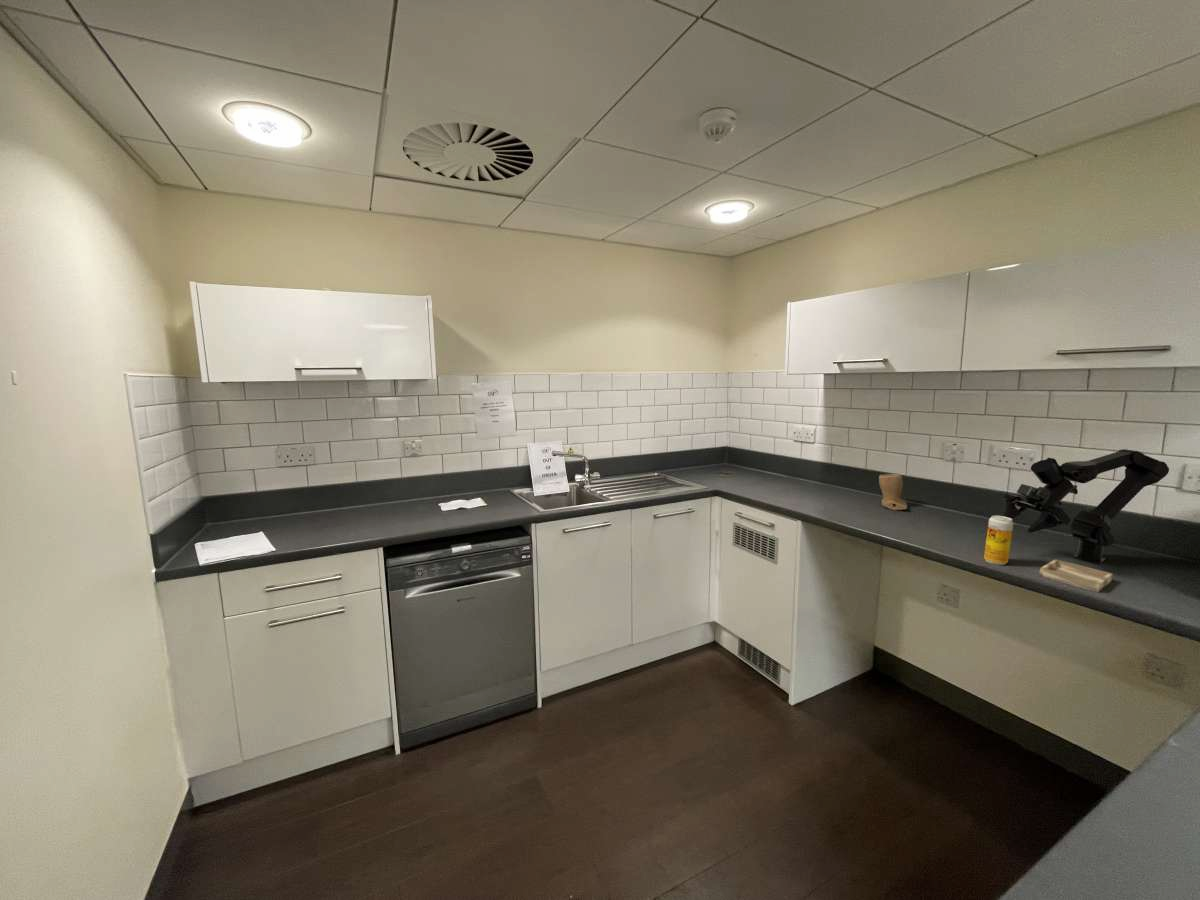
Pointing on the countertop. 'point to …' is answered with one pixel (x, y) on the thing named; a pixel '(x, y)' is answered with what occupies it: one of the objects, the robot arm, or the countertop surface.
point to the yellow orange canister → (998, 540)
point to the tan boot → (892, 491)
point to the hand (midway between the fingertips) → (1014, 527)
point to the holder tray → (1076, 575)
